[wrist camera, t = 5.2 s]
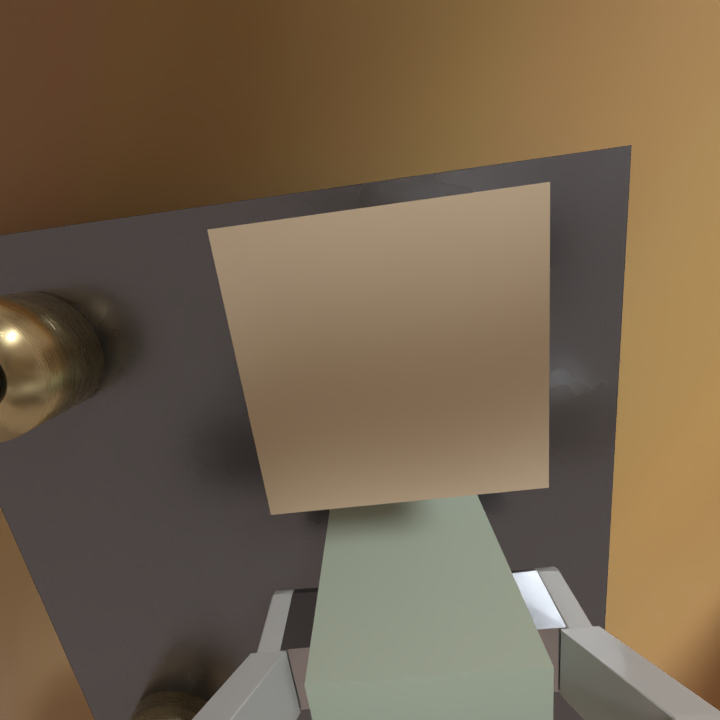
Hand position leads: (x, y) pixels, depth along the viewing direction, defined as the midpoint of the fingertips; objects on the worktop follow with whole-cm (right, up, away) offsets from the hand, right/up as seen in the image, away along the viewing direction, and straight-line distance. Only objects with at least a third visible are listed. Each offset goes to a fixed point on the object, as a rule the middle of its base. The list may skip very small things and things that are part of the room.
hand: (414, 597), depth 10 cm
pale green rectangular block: (0, 0, +2) cm, 2 cm away
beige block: (-1, +7, 0) cm, 7 cm away
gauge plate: (-3, +1, +4) cm, 5 cm away
